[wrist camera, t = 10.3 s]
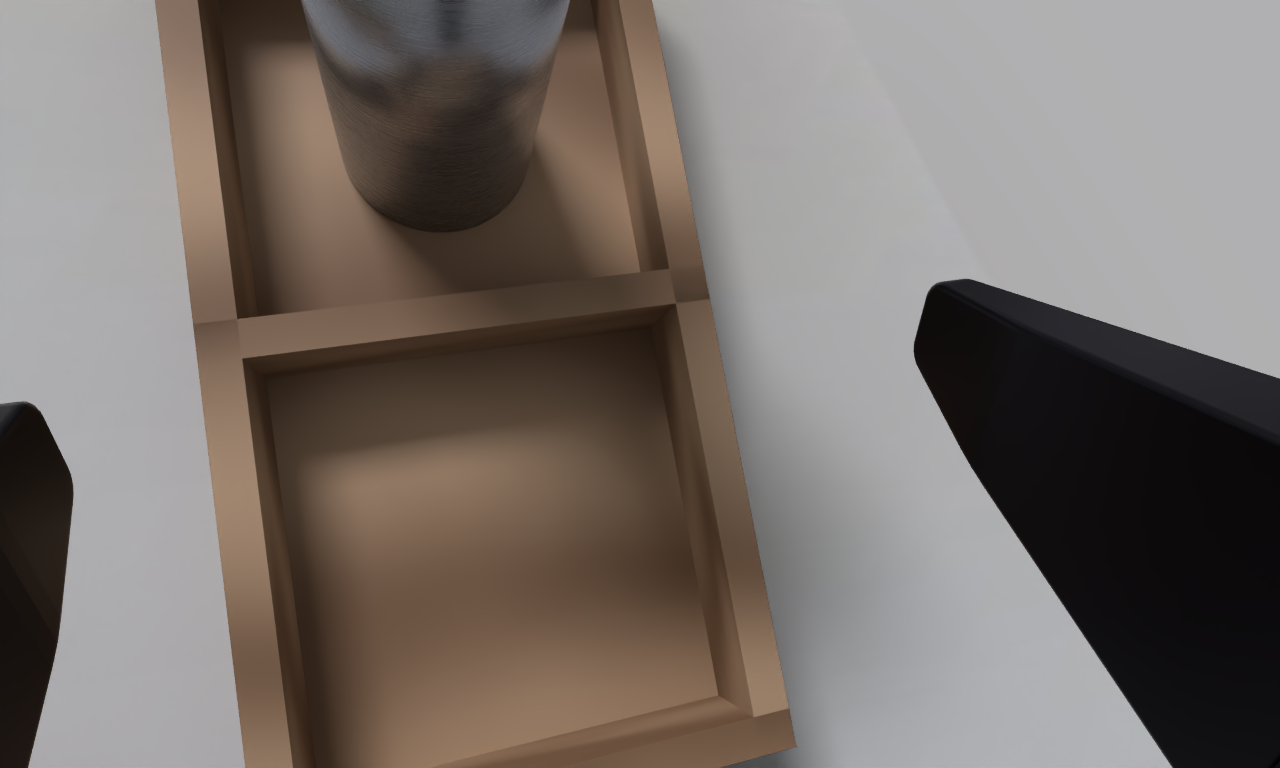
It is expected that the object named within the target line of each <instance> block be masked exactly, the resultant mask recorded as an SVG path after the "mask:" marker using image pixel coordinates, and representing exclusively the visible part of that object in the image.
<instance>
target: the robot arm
mask: <svg viewBox="0 0 1280 768" xmlns="http://www.w3.org/2000/svg"><path fill="white" fill-rule="evenodd" d="M914 357H915V361H916V364H917V366H918V368H919V370H920V372H921V374H922V376H923V378H924V380H925V382H926V383H927V385H928V387H929V389H930V391H931V393H932V395H933V397H934V399H935V401H936V402H937V404H938V406H939V408H940V410H941V412H942V414H943V416H944V418H945V420H946V421H947V423H948V425H949V427H950V429H951V431H952V433H953V435H954V437H955V439H956V440H957V442H958V444H959V446H960V448H961V450H962V452H963V453H964V455H965V457H966V459H967V461H968V462H969V464H970V466H971V468H972V469H973V471H974V472H975V474H976V475H977V477H978V479H979V480H980V482H981V483H982V485H983V486H984V488H985V489H986V491H987V492H988V494H989V495H990V497H991V498H992V500H993V501H994V503H995V504H996V506H997V507H998V509H999V510H1000V512H1001V513H1002V515H1003V516H1004V518H1005V519H1006V521H1007V522H1008V524H1009V525H1010V527H1011V528H1012V530H1013V531H1014V533H1015V534H1016V536H1017V537H1018V538H1019V540H1020V541H1021V543H1022V544H1023V546H1024V547H1025V549H1026V550H1027V552H1028V553H1029V555H1030V556H1031V558H1032V559H1033V561H1034V562H1035V564H1036V565H1037V567H1038V568H1039V570H1040V571H1041V573H1042V574H1043V576H1044V577H1045V579H1046V580H1047V582H1048V583H1049V585H1050V586H1051V588H1052V589H1053V591H1054V592H1055V594H1056V595H1057V597H1058V598H1059V600H1060V601H1061V603H1062V604H1063V605H1064V607H1065V608H1066V610H1067V611H1068V613H1069V614H1070V616H1071V617H1072V619H1073V620H1074V622H1075V623H1076V625H1077V626H1078V628H1079V629H1080V631H1081V632H1082V634H1083V635H1084V637H1085V638H1086V640H1087V641H1088V643H1089V644H1090V646H1091V647H1092V649H1093V650H1094V652H1095V653H1096V655H1097V656H1098V658H1099V659H1100V661H1101V662H1102V664H1103V665H1104V667H1105V668H1106V670H1107V671H1108V672H1109V674H1110V675H1111V677H1112V678H1113V680H1114V681H1115V683H1116V684H1117V686H1118V687H1119V689H1120V690H1121V692H1122V693H1123V695H1124V696H1125V698H1126V699H1127V701H1128V702H1129V704H1130V705H1131V707H1132V708H1133V710H1134V711H1135V713H1136V714H1137V716H1138V717H1139V719H1140V720H1141V722H1142V723H1143V725H1144V726H1145V728H1146V729H1147V731H1148V732H1149V734H1150V735H1151V736H1152V738H1153V739H1154V741H1155V742H1156V744H1157V745H1158V747H1159V748H1160V750H1161V751H1162V753H1163V754H1164V756H1165V757H1166V759H1167V760H1168V762H1169V763H1170V765H1171V766H1172V768H1280V379H1279V378H1276V377H1273V376H1270V375H1267V374H1263V373H1260V372H1257V371H1254V370H1251V369H1248V368H1245V367H1241V366H1239V365H1236V364H1232V363H1229V362H1226V361H1223V360H1220V359H1217V358H1214V357H1211V356H1208V355H1204V354H1201V353H1198V352H1195V351H1192V350H1189V349H1186V348H1183V347H1180V346H1177V345H1173V344H1170V343H1167V342H1164V341H1161V340H1158V339H1155V338H1152V337H1149V336H1145V335H1142V334H1139V333H1136V332H1133V331H1130V330H1127V329H1123V328H1121V327H1117V326H1114V325H1111V324H1108V323H1105V322H1102V321H1099V320H1096V319H1093V318H1089V317H1086V316H1083V315H1080V314H1077V313H1074V312H1071V311H1068V310H1065V309H1062V308H1059V307H1055V306H1052V305H1049V304H1046V303H1043V302H1040V301H1037V300H1034V299H1031V298H1027V297H1024V296H1021V295H1018V294H1015V293H1012V292H1009V291H1006V290H1003V289H1000V288H996V287H993V286H990V285H987V284H984V283H981V282H978V281H975V280H971V279H959V280H951V281H944V282H939V283H936V284H935V285H933V286H932V287H931V289H930V290H929V292H928V294H927V296H926V300H925V304H924V308H923V311H922V315H921V319H920V323H919V326H918V330H917V334H916V338H915V342H914ZM73 494H74V493H73V482H72V477H71V474H70V471H69V469H68V466H67V464H66V462H65V460H64V458H63V456H62V454H61V452H60V450H59V448H58V446H57V444H56V442H55V440H54V438H53V436H52V434H51V432H50V429H49V427H48V425H47V423H46V421H45V419H44V417H43V415H42V414H41V412H40V411H39V410H38V409H37V408H36V406H35V405H33V404H31V403H28V402H24V401H22V402H13V403H5V404H0V768H28V765H29V761H30V757H31V753H32V749H33V745H34V741H35V737H36V733H37V729H38V724H39V720H40V716H41V712H42V708H43V704H44V700H45V696H46V692H47V688H48V683H49V679H50V675H51V671H52V667H53V662H54V657H55V653H56V648H57V643H58V636H59V629H60V622H61V613H62V603H63V593H64V584H65V574H66V564H67V555H68V545H69V535H70V525H71V516H72V506H73Z"/></svg>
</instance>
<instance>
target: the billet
mask: <svg viewBox="0 0 1280 768" xmlns="http://www.w3.org/2000/svg"><path fill="white" fill-rule="evenodd" d="M301 2H302V6H303V10H304V14H305V18H306V22H307V25H308V29H309V33H310V37H311V41H312V45H313V48H314V52H315V56H316V60H317V64H318V68H319V72H320V75H321V79H322V83H323V87H324V91H325V95H326V98H327V102H328V106H329V110H330V114H331V118H332V122H333V125H334V129H335V133H336V137H337V141H338V145H339V149H340V152H341V156H342V160H343V164H344V167H345V169H346V172H347V174H348V177H349V178H350V180H351V182H352V184H353V185H354V187H355V188H356V190H357V191H358V192H359V194H360V195H361V196H362V197H363V199H364V200H365V201H366V202H367V203H368V204H369V205H370V206H372V207H373V208H374V209H375V210H377V211H378V212H379V213H380V214H382V215H384V216H385V217H387V218H388V219H390V220H392V221H394V222H396V223H398V224H401V225H403V226H406V227H409V228H412V229H415V230H420V231H426V232H437V233H445V232H456V231H462V230H466V229H469V228H473V227H476V226H478V225H480V224H482V223H484V222H487V221H488V220H490V219H492V218H493V217H495V216H496V215H498V214H499V213H500V212H501V211H502V210H503V209H505V208H506V207H507V206H508V204H509V203H510V202H511V201H512V200H513V199H514V197H515V196H516V194H517V193H518V191H519V190H520V188H521V185H522V183H523V181H524V179H525V176H526V172H527V169H528V165H529V161H530V157H531V153H532V149H533V145H534V141H535V137H536V133H537V129H538V125H539V121H540V117H541V114H542V110H543V106H544V102H545V98H546V94H547V90H548V86H549V82H550V78H551V74H552V70H553V66H554V62H555V58H556V54H557V50H558V46H559V42H560V38H561V34H562V30H563V26H564V22H565V18H566V14H567V10H568V6H569V2H570V0H301Z"/></svg>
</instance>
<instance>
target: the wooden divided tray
mask: <svg viewBox="0 0 1280 768" xmlns="http://www.w3.org/2000/svg"><path fill="white" fill-rule="evenodd" d="M155 4H156V13H157V21H158V30H159V38H160V47H161V55H162V64H163V72H164V81H165V89H166V98H167V106H168V115H169V123H170V132H171V140H172V149H173V157H174V166H175V174H176V182H177V191H178V199H179V208H180V216H181V225H182V233H183V242H184V250H185V259H186V267H187V276H188V284H189V293H190V301H191V310H192V318H193V327H194V335H195V344H196V352H197V361H198V369H199V378H200V386H201V395H202V403H203V412H204V420H205V428H206V437H207V445H208V454H209V462H210V471H211V479H212V488H213V496H214V505H215V513H216V522H217V530H218V539H219V547H220V556H221V564H222V573H223V581H224V590H225V598H226V607H227V615H228V624H229V632H230V641H231V649H232V658H233V666H234V674H235V683H236V691H237V700H238V708H239V717H240V725H241V734H242V742H243V751H244V759H245V768H721V767H724V766H728V765H732V764H735V763H739V762H743V761H747V760H750V759H754V758H758V757H761V756H765V755H769V754H772V753H776V752H780V751H783V750H787V749H791V748H794V747H796V743H795V737H794V732H793V727H792V722H791V717H790V712H789V706H788V701H787V696H786V691H785V686H784V681H783V675H782V670H781V665H780V660H779V655H778V650H777V644H776V639H775V634H774V629H773V624H772V619H771V613H770V608H769V603H768V598H767V593H766V588H765V582H764V577H763V572H762V567H761V562H760V557H759V551H758V546H757V541H756V536H755V531H754V526H753V520H752V515H751V510H750V505H749V500H748V495H747V489H746V484H745V479H744V474H743V469H742V464H741V458H740V453H739V448H738V443H737V438H736V433H735V427H734V422H733V417H732V412H731V407H730V402H729V396H728V391H727V386H726V381H725V376H724V371H723V365H722V360H721V355H720V350H719V345H718V340H717V334H716V329H715V324H714V319H713V314H712V309H711V303H710V298H709V293H708V288H707V283H706V278H705V272H704V267H703V262H702V257H701V252H700V247H699V241H698V236H697V231H696V226H695V221H694V216H693V210H692V205H691V200H690V195H689V190H688V185H687V179H686V174H685V169H684V164H683V159H682V154H681V148H680V143H679V138H678V133H677V128H676V123H675V117H674V112H673V107H672V102H671V97H670V92H669V86H668V81H667V76H666V71H665V66H664V61H663V55H662V50H661V45H660V40H659V35H658V30H657V24H656V19H655V14H654V9H653V4H652V0H570V2H569V6H568V10H567V14H566V18H565V22H564V26H563V30H562V34H561V38H560V42H559V46H558V50H557V54H556V58H555V62H554V66H553V70H552V74H551V78H550V82H549V86H548V90H547V94H546V98H545V102H544V106H543V110H542V114H541V117H540V121H539V125H538V129H537V133H536V137H535V141H534V145H533V149H532V153H531V157H530V161H529V165H528V169H527V172H526V176H525V179H524V181H523V183H522V185H521V188H520V190H519V191H518V193H517V194H516V196H515V197H514V199H513V200H512V201H511V202H510V203H509V204H508V206H507V207H506V208H505V209H503V210H502V211H501V212H500V213H499V214H498V215H496V216H495V217H493V218H492V219H490V220H488V221H487V222H484V223H482V224H480V225H478V226H476V227H473V228H469V229H466V230H462V231H456V232H445V233H437V232H426V231H420V230H415V229H412V228H409V227H406V226H403V225H401V224H398V223H396V222H394V221H392V220H390V219H388V218H387V217H385V216H384V215H382V214H380V213H379V212H378V211H377V210H375V209H374V208H373V207H372V206H370V205H369V204H368V203H367V202H366V201H365V200H364V199H363V197H362V196H361V195H360V194H359V192H358V191H357V190H356V188H355V187H354V185H353V184H352V182H351V180H350V178H349V177H348V174H347V172H346V169H345V167H344V164H343V160H342V156H341V152H340V149H339V145H338V141H337V137H336V133H335V129H334V125H333V122H332V118H331V114H330V110H329V106H328V102H327V98H326V95H325V91H324V87H323V83H322V79H321V75H320V72H319V68H318V64H317V60H316V56H315V52H314V48H313V45H312V41H311V37H310V33H309V29H308V25H307V22H306V18H305V14H304V10H303V6H302V2H301V0H155Z"/></svg>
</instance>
